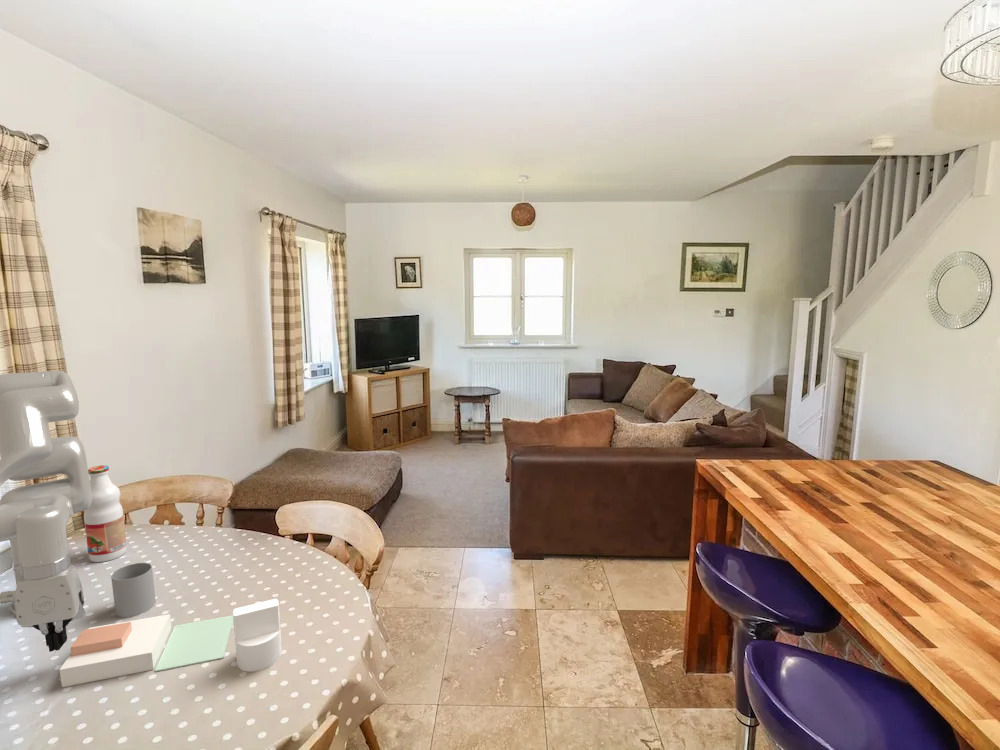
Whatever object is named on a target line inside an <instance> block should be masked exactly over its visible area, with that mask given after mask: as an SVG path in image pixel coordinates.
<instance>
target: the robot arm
mask: <svg viewBox="0 0 1000 750" xmlns="http://www.w3.org/2000/svg"><path fill="white" fill-rule="evenodd" d="M79 411H80V402H79V399H78V394H77V391H76V388H75V385H74V383H73V381H72V379H71V377H70V375H69V374H68V373H66V372H65V371H62V370H47V371H46V370H45V371H44V370H43V371H31V372H15V373H2V374H0V487H2V485H3V484H4V483H5V482H7V481H8V480H9V481H14V482H20V481H28V480H34V479H39V478H40V479H41V478H45V477H51V476H55V475H56V476H57V475H65V476H66V478H60V479H59V478H58V479H55V480H54V479H53V480H51V481H43V482H37V483H34V484H27V485H23V486H19V487H15V488H12V489H10V490H8V491H7V492H5V493H4V494H3V495H2V496H1V497H0V543H1V542H6V541H9V543H10V552H11V556H12V557H11V558H12V559H11V560H12V564H13V568H12V570H13V572H14V579H15V584H16V585H15V590H8V591H7V590H5V591H1V592H0V604H1V605H2V604H7V603H13V604H12V605H11V607H10V611H11V613H12V615H13V616H15V618H16V622H17V625H18V626H20V627H22V628H34V629H36V630H38V631H40V633H41V634H42V635H43V636H44V637H45V643H46V644H45V645H46V646H47V647H48V652H53V651H57V652H58V651H60V649H62V647H63V646H64V644H66V643H67V640H68V634H67V626H68V625H69V624H70V623H71V622H73V621H76V620H79V619H82V618H83V617H84V616H85V614H86V612H87V611H86V610H85V608H84V605H85V595H84V591H83V587H82V582H81V578H80V575H79V573H78V570H77V569H76V566H75V565H74V564H71V559H70V558H71V557H70V556H71V555H70V549H69V542H68V534H67V527H66V526H67V524H68V523H69V521H70V518H72V516H73V515H74V514H77V513H80V512H81V513H82V512H85V510H86V509H88V508H89V507H90V505H91V502H92V494H91V486H90V475H89V473H88V469H89V467H88V462H87V461H88V460H87V456H86V451H85V448H84V445H83V443H82V441H81V440H80V439H79V438H77V437H76V436H72V435H69V436H67V435H66V436H60V437H59V436H58V437H52V438H51V433H50V427H49V423H55V422H62V421H63V422H65V421H69V420H74V419H75V418H77V416H78V414H79Z"/></svg>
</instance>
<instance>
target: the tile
mask: <svg viewBox="0 0 1000 750" xmlns="http://www.w3.org/2000/svg"><path fill="white" fill-rule="evenodd" d="M131 631H132V626H131V622H128V623H122V624H116V625H110V626H104V627H98V628H92V629H89V628H87V629H83V630H82V631H81V632H80V633H79V635H78V636H77V637H76V639H75V641H74V642H73V643H72V645H71V646H70V654H71V656H76V655H81V654H86V653H92V652H97V651H103V650H108V649H114V648H119V647H123V645H124V643H125V641H126V640H127V638H128V636H129V634H130V633H131Z"/></svg>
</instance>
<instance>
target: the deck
mask: <svg viewBox="0 0 1000 750" xmlns="http://www.w3.org/2000/svg"><path fill="white" fill-rule="evenodd" d="M171 620H172V619H171V614H169V613H168V614H162V615H157V616H156V615H155V616H152V617H145V618H140V619H134V620H129V621H128V620H127V621H122V622H116V623H115V622H114V623H110V624H104V625H98V626H93V627H88V629H92V628H98V627H104V626H110V625H116V624H122V623H128V622H131V626H132V631H131V633H130V634H129V636H128V638H127V640H126V641H125V643H124V645H123V647H119V648H114V649H108V650H103V651H97V652H92V653H86V654H81V655H76V656H71V653H70V654H69V656H68V657H67V658H66V660H65V661H64V663H63V664H62V665H61V667H60V669H59V676H60V683H61V688H66V687H71V686H76V685H77V686H78V685H81V684H87V683H91V682H95V681H96V682H97V681H100V680H101V681H103V680H106V679H111V678H117V677H122V676H126V675H133V674H137V673H142V672H143V673H144V672H147V671H153V670H155V668H156V666H157V664H158V662H159V659H160V657H161V655H162V653H163V651H164V648H165V646H166V644H167V642H168V639H169V637H170V635H171V633H172V631H173V628H172V621H171Z"/></svg>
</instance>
